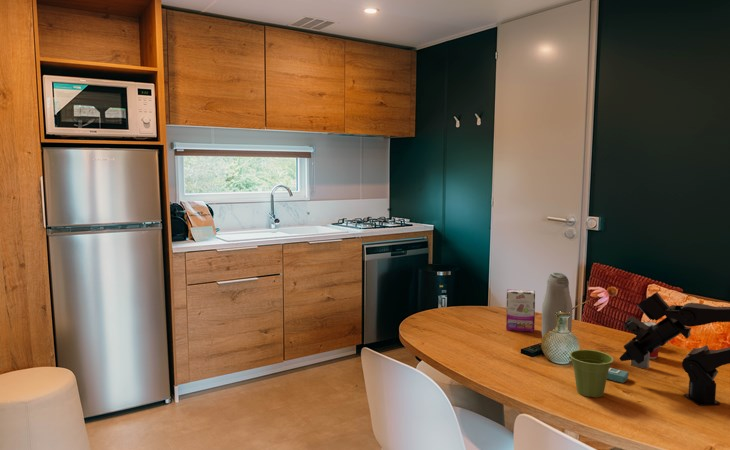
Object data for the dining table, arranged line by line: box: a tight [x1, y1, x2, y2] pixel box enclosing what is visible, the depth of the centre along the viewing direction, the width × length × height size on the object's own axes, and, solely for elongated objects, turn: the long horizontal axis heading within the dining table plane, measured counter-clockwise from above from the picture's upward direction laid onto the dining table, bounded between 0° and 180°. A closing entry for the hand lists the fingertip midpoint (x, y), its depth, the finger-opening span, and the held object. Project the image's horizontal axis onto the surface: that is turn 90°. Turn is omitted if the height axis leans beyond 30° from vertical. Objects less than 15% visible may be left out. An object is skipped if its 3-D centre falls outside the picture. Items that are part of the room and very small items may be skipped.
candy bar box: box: [505, 288, 536, 333], centre depth 213 cm, size 11×5×16 cm, turn 73°
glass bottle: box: [541, 272, 573, 339], centre depth 191 cm, size 10×10×28 cm
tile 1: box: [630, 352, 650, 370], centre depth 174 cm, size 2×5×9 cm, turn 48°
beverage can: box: [642, 321, 660, 360], centre depth 182 cm, size 6×6×12 cm
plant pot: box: [569, 349, 614, 398], centre depth 153 cm, size 12×12×11 cm
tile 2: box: [607, 367, 629, 384], centre depth 165 cm, size 2×5×9 cm
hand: (620, 359), depth 163 cm, fingers closed
